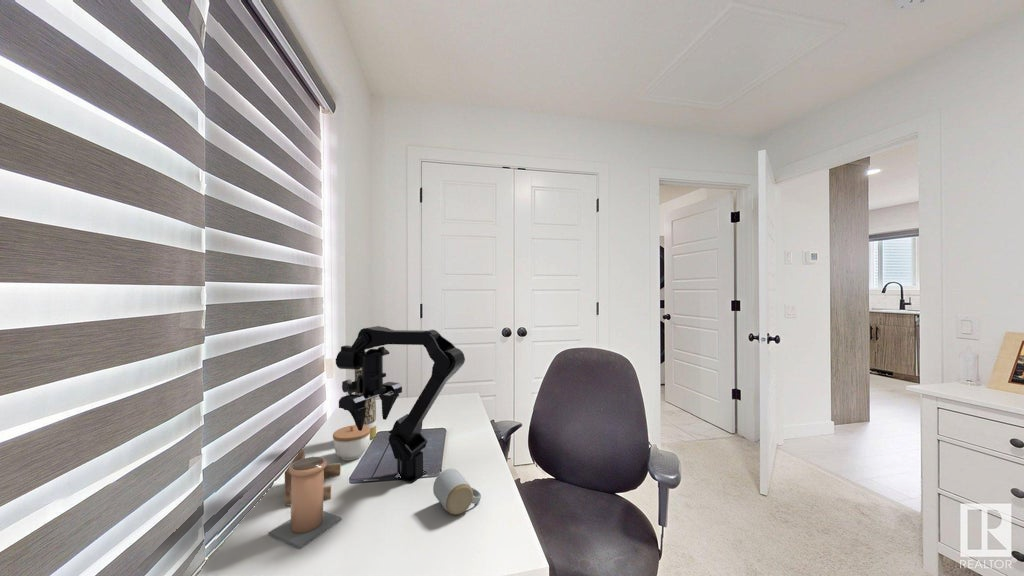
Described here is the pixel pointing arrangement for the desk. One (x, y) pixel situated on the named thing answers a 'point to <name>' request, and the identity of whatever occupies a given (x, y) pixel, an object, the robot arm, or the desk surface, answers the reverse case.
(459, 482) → the ceramic mug
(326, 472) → the light wood arch piece
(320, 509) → the terracotta pot
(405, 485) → the desk surface
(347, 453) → the lidded jar
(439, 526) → the desk surface
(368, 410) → the bark log
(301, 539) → the slate mat
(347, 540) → the desk surface
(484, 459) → the desk surface
